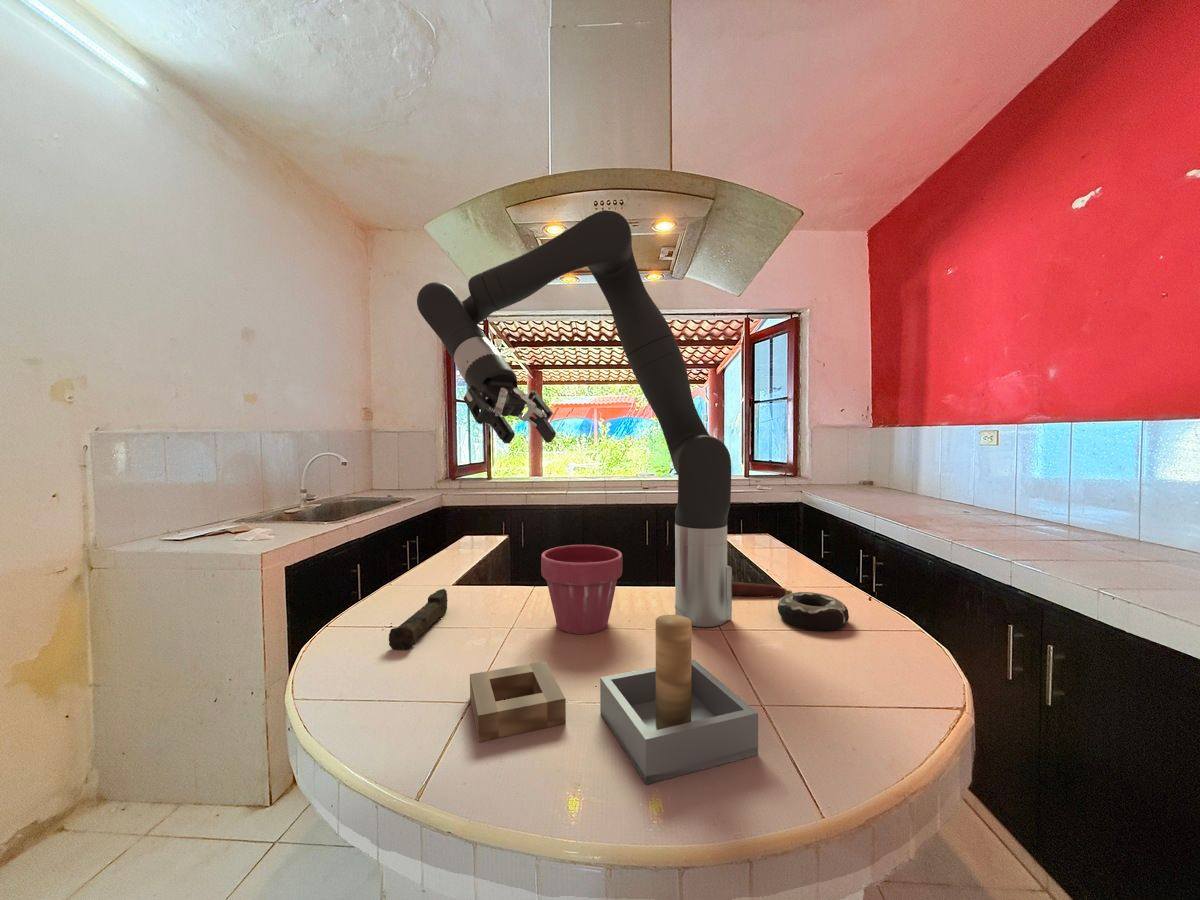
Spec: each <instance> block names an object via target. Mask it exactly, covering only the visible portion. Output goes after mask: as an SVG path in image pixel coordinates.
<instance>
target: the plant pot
mask: <svg viewBox="0 0 1200 900" xmlns="http://www.w3.org/2000/svg"><path fill="white" fill-rule="evenodd" d="M540 558H541V560H540V565H541V566H540V567H541V568H540V571H541V572H540V573H541V577H543V579H544V580H546V583H547V588H548V592H549V596H550V597H549V598H550V601H551V605H552V609H553V610H552V611H553V614H554V619H555V624H556V627H557V628H558V629H559V630H561V631H563V632H565V633H569V634H574V635H589V634H594V633H599V632H602V631H603V630H605V629H606V628H607V627H608V623H609V620H610V614H611V611H612V607H613V601H614V596H615V591H616V588H617V587H616V586H617V581H618V579H620V577H621V576H622V574H623V554H622V552H621V551H620V550H618V549H615V548H613V547H610V546H603V545H596V544H570V545H569V544H568V545H563V546H561V545H560V546H556V547H553V548H549V549H547V550H544V551H543V552H542V553H541V557H540Z"/></svg>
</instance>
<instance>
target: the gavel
mask: <svg viewBox="0 0 1200 900" xmlns="http://www.w3.org/2000/svg"><path fill="white" fill-rule="evenodd" d="M790 593H793V590H790V589H789V590H788V589H787V588H784V587H782V586H779V585H777V584H764V583H762V584H761V583H753V582H750V583H749V582H736V581H732V596H733V595H736V596H744V595H745V596H748V597H759V596H773V597H772V598H782V597H781V596H785V595H787V594H790Z"/></svg>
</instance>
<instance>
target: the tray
mask: <svg viewBox="0 0 1200 900" xmlns="http://www.w3.org/2000/svg"><path fill="white" fill-rule="evenodd" d="M599 680H600V681H599V685H600V686H599V687H600V688H599V692H600V696H599V698H600V702H599V703H600V711H599V712H600V715H601V717H602V718H603V720H604V721H605V723H606V725H607V726H608V728H609V729H610V732H611V733H612V732H613V733H612V734H613V736H614V737H615V739H616V741H617V742H618V744H619V745H620V747H621V748H622V750H623V752H624V753H625V755H626V757H627V758H628V760H629V761H630V763H631V764H632V765H633V767H634V768H635V770H636V772H637V774H638V775H639V777H640V778H641V780H642V781H643V783H644V784H645V785H646V786H647V785H651V784H654V783H658V782H661V781H666V780H669V779H673V778H677V777H680V776H684V775H687V774H691V773H695V772H699V771H702V770H706V769H710V768H713V767H716V766H717V767H718V766H720V765H724V764H725V765H726V764H729V763H731V762H736V761H739V760H743V759H747V758H750V757H754V756H755V757H756V756H758V755H759V712H758V711H756V709H754V708H753V707H752V706H751V705H749V703H747V702H746V701H745V700H743V699H742V698H741V697H740V696H739V695H737V693H735V692H734V691H733V690H731V689H730V688H729V687H728V686H726V684H724V683H723V682H722V681H720V680H719V679H718V678H717V677H716V676H715V675H713V674H712V673H711V672H710V671H709V670H708V669H706V668H705V667H704V666H703V665H702V664H700V663H699V662H698V661H697V660H696V659H691V722H689V723H685V724H681V725H677V726H672V727H668V728H664V729H659V730H658V729H657V728H656V666H654V667H648V668H643V669H638V670H633V671H626V672H622V673H615V674H611V675H605V676H600V677H599Z"/></svg>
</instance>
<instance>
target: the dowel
mask: <svg viewBox="0 0 1200 900" xmlns="http://www.w3.org/2000/svg"><path fill="white" fill-rule="evenodd" d="M691 660H692V622H691V620H690V619H688V618H687V617H684V616H680V615H675V614H665V615H664V614H663V615H660V616H658V617H656V618H655V667H656V728H657V729H658V730H659V729H664V728H668V727H672V726H677V725H681V724H685V723H689V722H691Z"/></svg>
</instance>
